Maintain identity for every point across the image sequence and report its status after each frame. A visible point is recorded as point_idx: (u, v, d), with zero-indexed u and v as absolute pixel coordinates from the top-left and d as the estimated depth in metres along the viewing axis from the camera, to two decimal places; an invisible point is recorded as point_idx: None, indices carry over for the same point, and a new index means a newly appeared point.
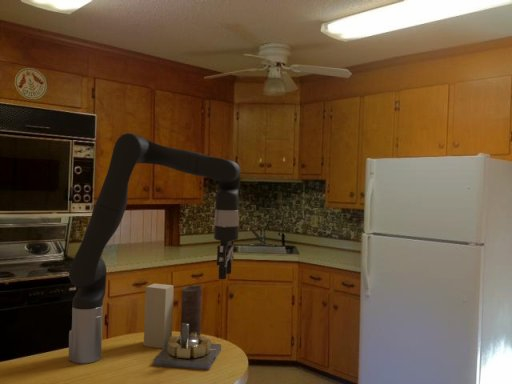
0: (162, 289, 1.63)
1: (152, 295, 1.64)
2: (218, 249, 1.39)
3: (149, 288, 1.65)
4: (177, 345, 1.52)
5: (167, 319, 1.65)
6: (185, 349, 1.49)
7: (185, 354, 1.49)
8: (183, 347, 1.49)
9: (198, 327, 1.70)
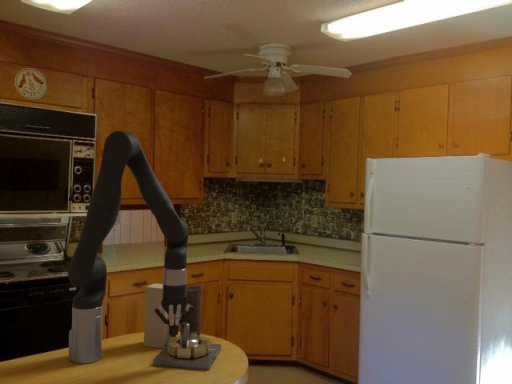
0: (162, 289, 1.63)
1: (152, 295, 1.64)
2: None
3: (149, 288, 1.65)
4: (177, 345, 1.52)
5: None
6: (186, 349, 1.49)
7: (185, 354, 1.49)
8: (183, 347, 1.49)
9: (198, 327, 1.70)
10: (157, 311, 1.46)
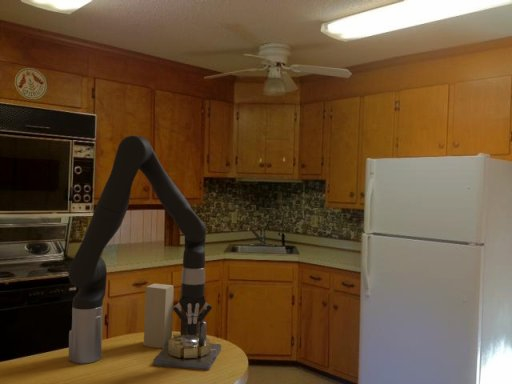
0: (162, 289, 1.63)
1: (152, 295, 1.64)
2: None
3: (149, 288, 1.65)
4: (193, 346, 1.51)
5: (167, 319, 1.65)
6: (206, 345, 1.53)
7: (206, 351, 1.53)
8: (204, 344, 1.52)
9: (198, 327, 1.70)
10: (176, 309, 1.48)
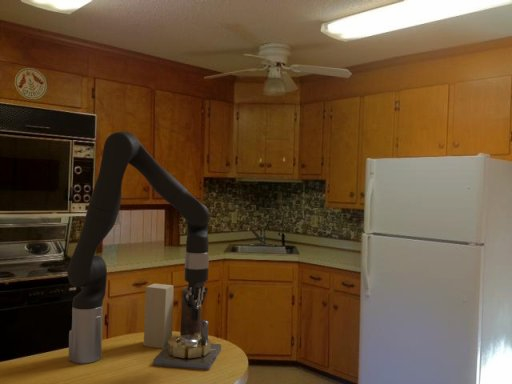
0: (162, 289, 1.63)
1: (152, 295, 1.64)
2: None
3: (149, 288, 1.65)
4: (196, 346, 1.52)
5: (167, 319, 1.65)
6: (208, 344, 1.54)
7: (208, 350, 1.54)
8: (207, 343, 1.53)
9: (198, 327, 1.70)
10: (192, 297, 1.44)
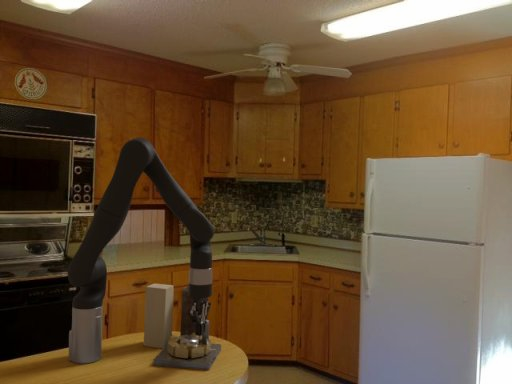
0: (162, 289, 1.63)
1: (152, 295, 1.64)
2: None
3: (149, 288, 1.65)
4: (198, 345, 1.52)
5: (167, 319, 1.65)
6: (209, 343, 1.55)
7: (209, 349, 1.55)
8: (208, 342, 1.54)
9: None
10: (196, 313, 1.46)
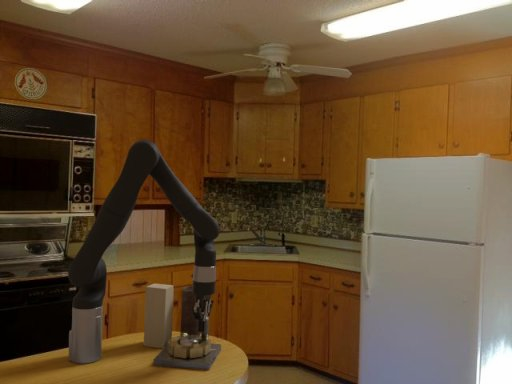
0: (162, 289, 1.63)
1: (152, 295, 1.64)
2: None
3: (149, 288, 1.65)
4: (204, 342, 1.55)
5: (167, 319, 1.65)
6: None
7: None
8: None
9: None
10: (199, 309, 1.49)
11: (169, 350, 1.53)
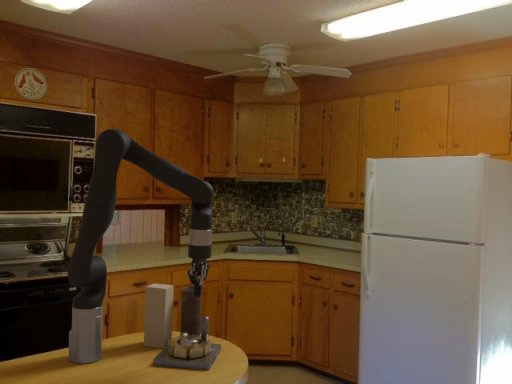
0: (162, 289, 1.63)
1: (152, 295, 1.64)
2: None
3: (149, 288, 1.65)
4: (204, 342, 1.55)
5: (167, 319, 1.65)
6: None
7: None
8: None
9: (198, 327, 1.70)
10: (195, 273, 1.46)
11: (169, 350, 1.53)
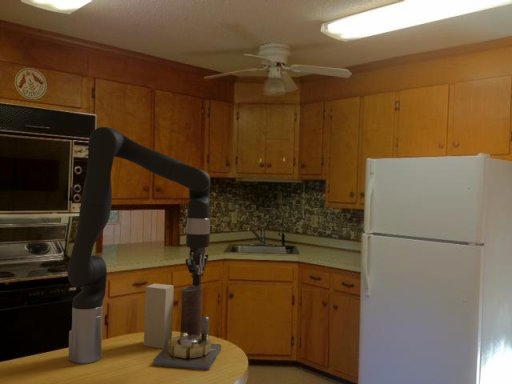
0: (162, 289, 1.63)
1: (152, 295, 1.64)
2: None
3: (149, 288, 1.65)
4: (204, 342, 1.55)
5: (167, 319, 1.65)
6: None
7: None
8: None
9: (198, 327, 1.70)
10: (193, 261, 1.46)
11: (169, 350, 1.53)
